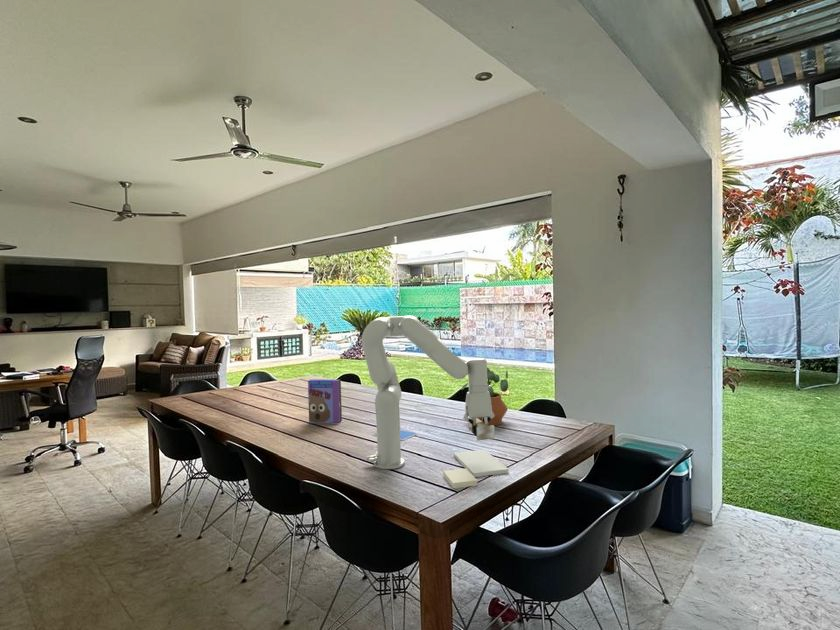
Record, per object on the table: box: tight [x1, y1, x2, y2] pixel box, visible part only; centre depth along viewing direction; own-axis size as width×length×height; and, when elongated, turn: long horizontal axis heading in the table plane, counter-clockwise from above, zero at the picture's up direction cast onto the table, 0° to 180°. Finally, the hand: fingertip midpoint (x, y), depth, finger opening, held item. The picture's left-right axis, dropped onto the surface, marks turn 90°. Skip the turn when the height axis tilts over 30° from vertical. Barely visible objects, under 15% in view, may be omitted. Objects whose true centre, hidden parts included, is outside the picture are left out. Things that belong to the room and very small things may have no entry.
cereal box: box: [307, 379, 343, 424], centre depth 250 cm, size 17×5×24 cm, turn 83°
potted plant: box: [460, 367, 509, 426], centre depth 240 cm, size 23×28×30 cm
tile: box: [442, 467, 478, 489], centre depth 164 cm, size 9×2×12 cm
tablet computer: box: [373, 429, 418, 441], centre depth 224 cm, size 19×13×1 cm, turn 55°
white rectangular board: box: [453, 448, 509, 478], centre depth 180 cm, size 14×24×2 cm, turn 14°
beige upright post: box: [468, 417, 496, 441], centre depth 180 cm, size 7×15×5 cm, turn 14°
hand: (479, 433), depth 180 cm, fingers closed on beige upright post, 3 cm apart
